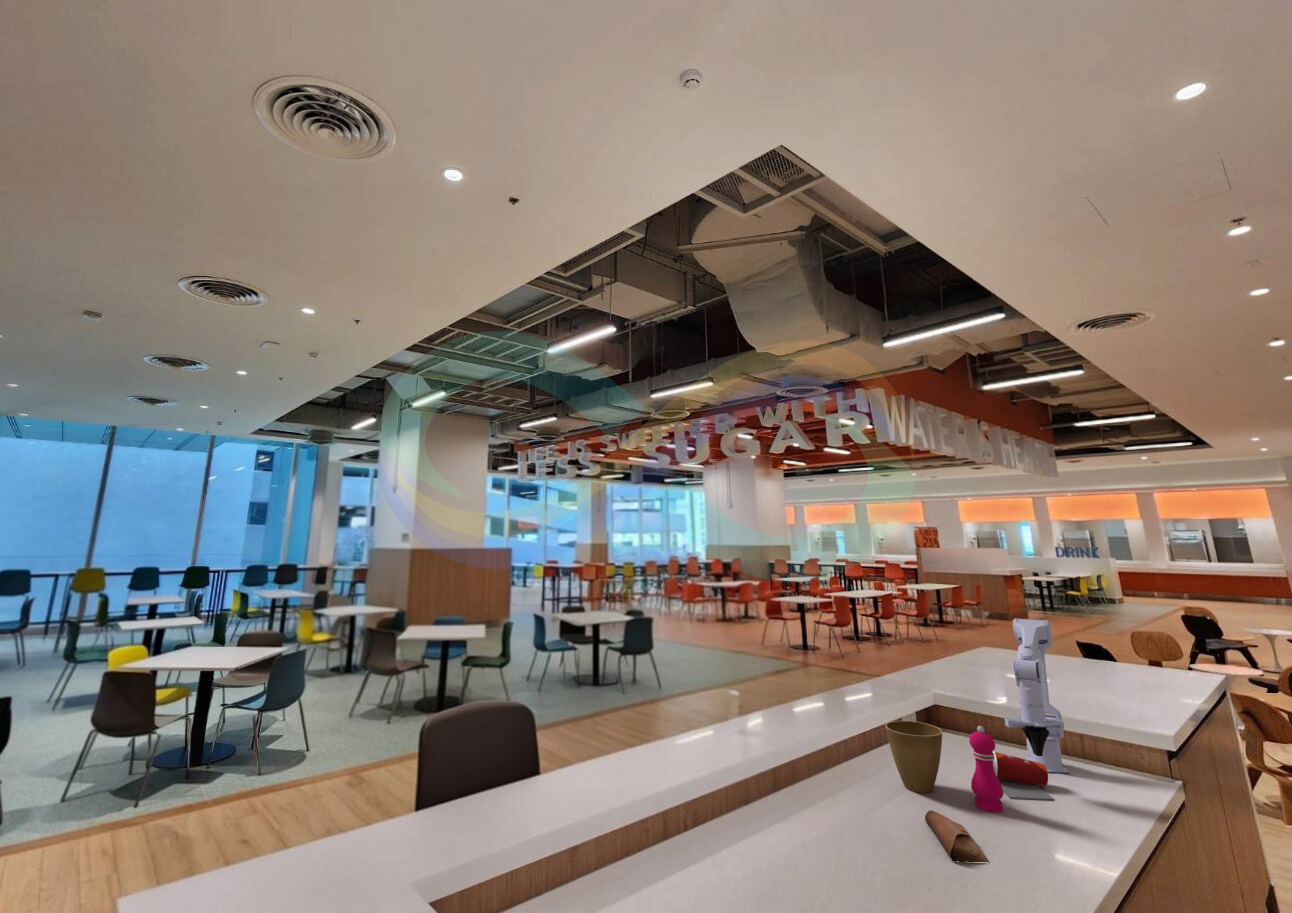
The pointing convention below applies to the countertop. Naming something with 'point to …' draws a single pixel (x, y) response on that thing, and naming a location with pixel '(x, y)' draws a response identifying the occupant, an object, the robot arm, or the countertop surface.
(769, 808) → the countertop surface
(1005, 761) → the paper cup
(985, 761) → the pepper mill
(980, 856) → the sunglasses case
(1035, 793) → the mat
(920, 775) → the plant pot
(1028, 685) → the robot arm
